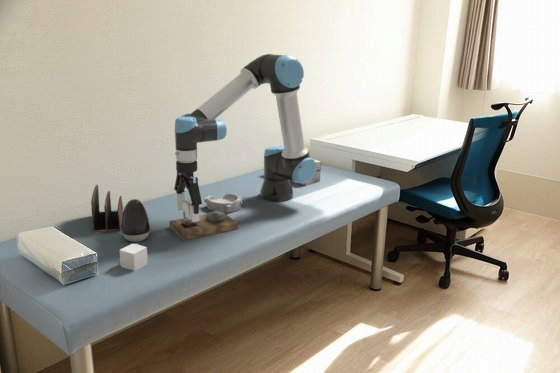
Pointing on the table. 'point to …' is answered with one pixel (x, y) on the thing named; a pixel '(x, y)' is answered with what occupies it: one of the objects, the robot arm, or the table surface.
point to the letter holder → (105, 214)
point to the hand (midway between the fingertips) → (188, 215)
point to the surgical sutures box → (317, 174)
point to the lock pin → (187, 214)
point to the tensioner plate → (204, 225)
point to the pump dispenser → (135, 221)
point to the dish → (224, 203)
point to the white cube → (133, 256)
